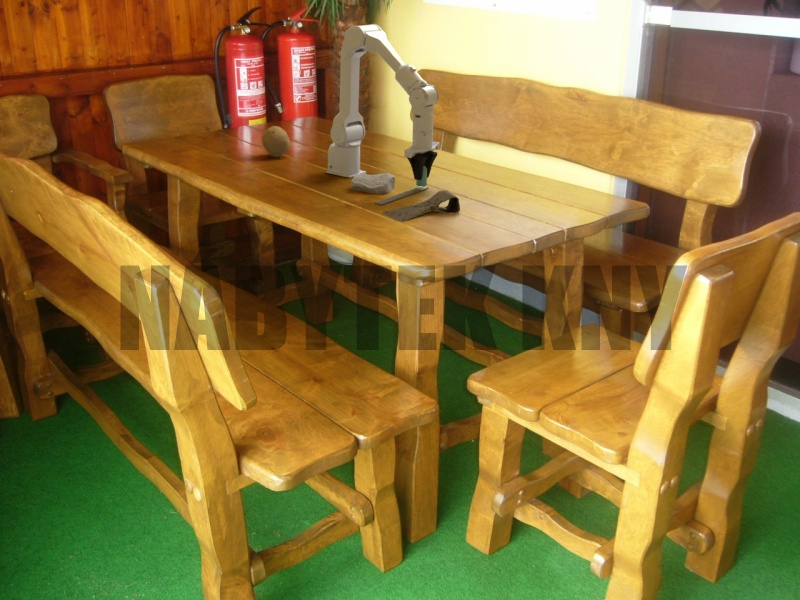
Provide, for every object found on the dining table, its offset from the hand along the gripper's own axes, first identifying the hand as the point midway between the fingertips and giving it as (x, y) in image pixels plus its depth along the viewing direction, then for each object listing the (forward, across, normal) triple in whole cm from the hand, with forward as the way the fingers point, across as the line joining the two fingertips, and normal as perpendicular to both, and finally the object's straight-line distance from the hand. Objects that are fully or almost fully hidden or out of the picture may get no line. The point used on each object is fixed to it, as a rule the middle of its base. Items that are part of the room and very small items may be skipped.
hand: (421, 178), depth 233 cm
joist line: (+3, -9, 0) cm, 10 cm away
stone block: (+4, -9, +11) cm, 15 cm away
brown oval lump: (+3, +2, +59) cm, 59 cm away
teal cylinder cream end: (+2, 0, 0) cm, 2 cm away
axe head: (+4, -19, -14) cm, 24 cm away
